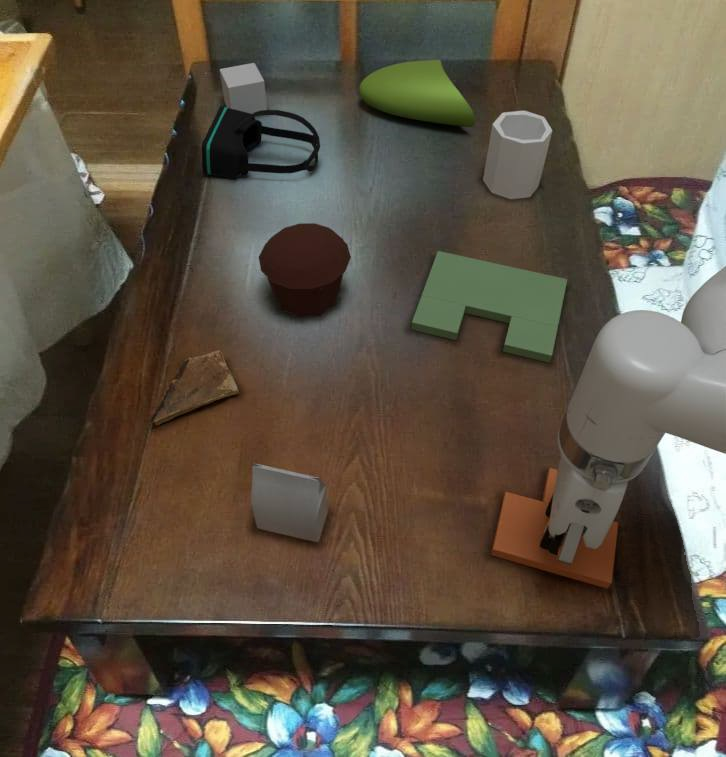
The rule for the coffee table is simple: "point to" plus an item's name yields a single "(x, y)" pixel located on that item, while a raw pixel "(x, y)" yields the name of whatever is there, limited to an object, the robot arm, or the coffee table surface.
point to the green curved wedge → (417, 93)
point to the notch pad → (492, 302)
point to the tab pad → (526, 528)
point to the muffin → (305, 268)
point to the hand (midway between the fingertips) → (558, 532)
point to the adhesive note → (243, 88)
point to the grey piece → (288, 502)
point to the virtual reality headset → (249, 143)
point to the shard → (196, 386)
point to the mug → (516, 154)
